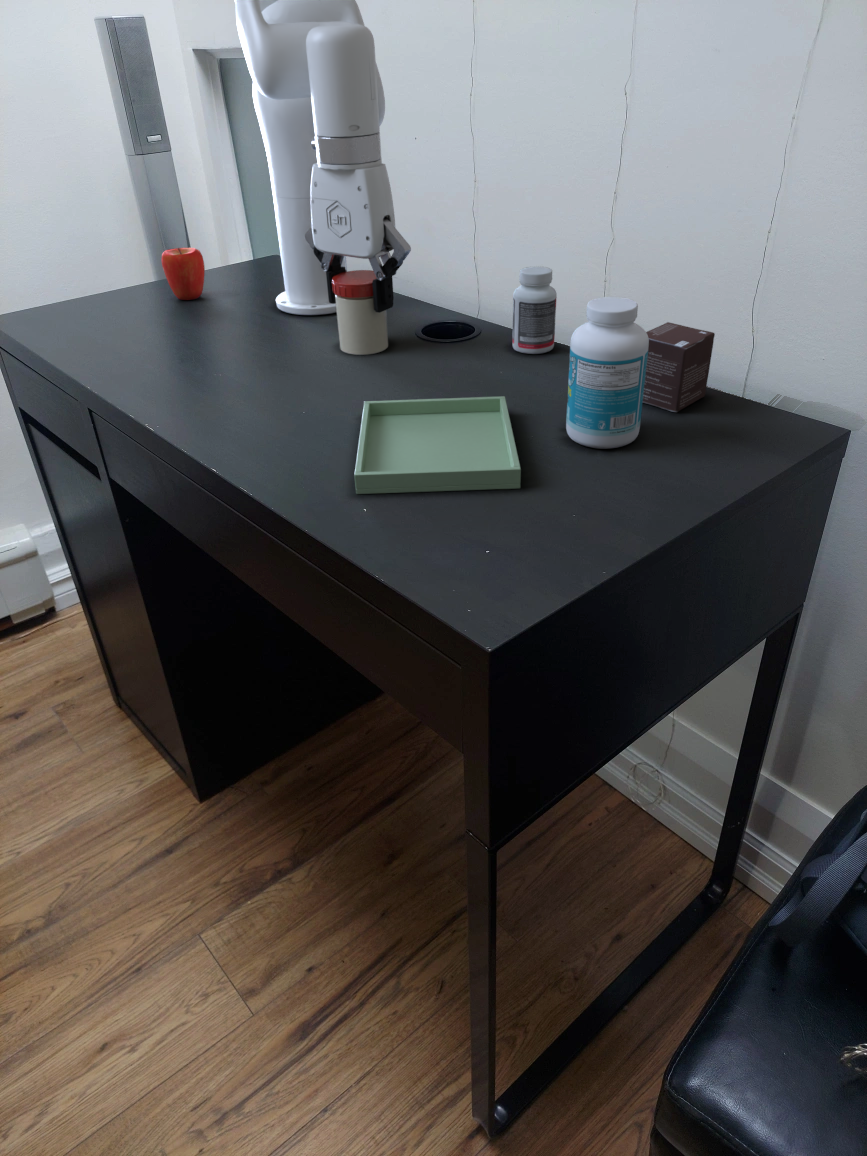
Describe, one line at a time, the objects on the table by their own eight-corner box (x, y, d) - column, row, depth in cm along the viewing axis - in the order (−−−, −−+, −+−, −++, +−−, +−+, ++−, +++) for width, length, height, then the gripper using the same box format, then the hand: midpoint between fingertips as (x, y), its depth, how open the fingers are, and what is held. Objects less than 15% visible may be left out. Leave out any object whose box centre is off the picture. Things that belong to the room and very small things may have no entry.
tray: (365, 418, 92) (364, 401, 91) (504, 413, 92) (504, 396, 91) (356, 494, 78) (354, 475, 77) (520, 488, 78) (520, 469, 77)
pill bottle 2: (585, 415, 91) (594, 288, 83) (650, 430, 87) (666, 298, 80) (552, 441, 86) (558, 308, 78) (619, 458, 82) (633, 320, 75)
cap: (321, 293, 107) (320, 280, 106) (355, 279, 111) (354, 267, 110) (363, 301, 103) (362, 287, 102) (397, 286, 108) (396, 274, 107)
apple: (208, 290, 136) (200, 241, 132) (210, 300, 131) (201, 250, 127) (168, 294, 135) (158, 245, 131) (169, 304, 130) (158, 254, 126)
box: (659, 384, 97) (667, 321, 93) (706, 397, 94) (716, 332, 90) (629, 399, 94) (636, 334, 90) (676, 414, 90) (685, 347, 86)
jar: (341, 339, 114) (335, 275, 109) (389, 337, 114) (385, 273, 109) (338, 355, 109) (331, 289, 104) (387, 354, 109) (383, 287, 104)
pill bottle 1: (562, 349, 108) (567, 270, 103) (530, 358, 106) (532, 278, 100) (536, 338, 112) (538, 262, 106) (503, 346, 110) (504, 269, 104)
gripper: (272, 151, 100) (291, 303, 110) (388, 160, 92) (397, 324, 102) (314, 143, 105) (328, 288, 115) (428, 150, 97) (433, 307, 107)
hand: (361, 304), depth 108 cm, fingers closed on cap, 6 cm apart
